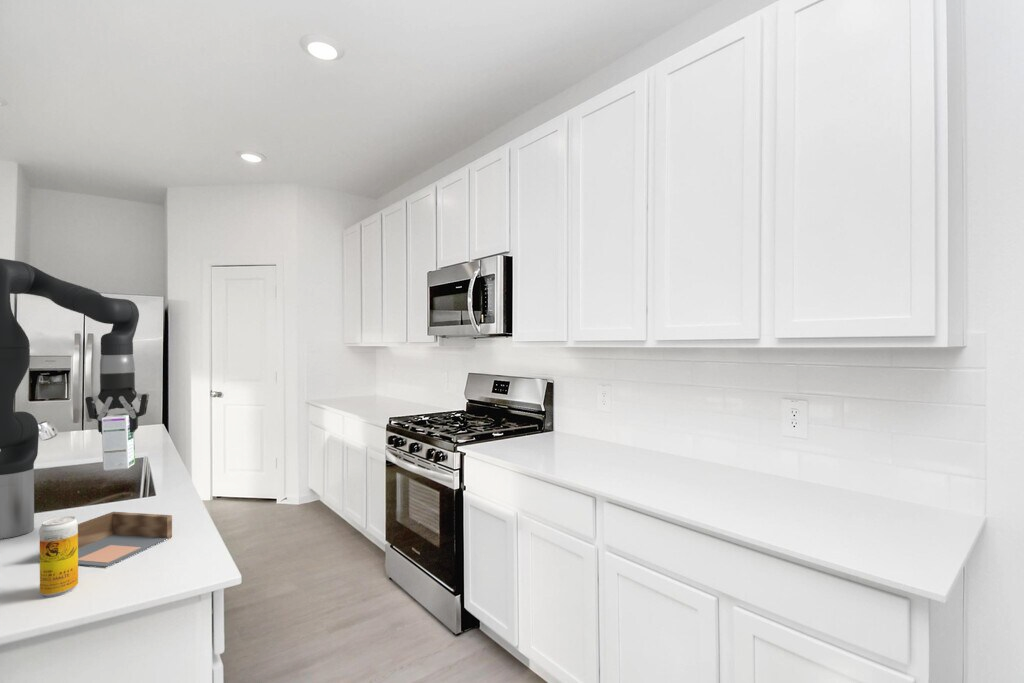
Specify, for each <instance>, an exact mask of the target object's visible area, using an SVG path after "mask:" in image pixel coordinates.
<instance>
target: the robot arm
mask: <svg viewBox="0 0 1024 683" xmlns="http://www.w3.org/2000/svg"><path fill="white" fill-rule="evenodd" d="M11 295H31V296H32V295H33V296H36V297H42V298H46V299H49V300H50V301H51V302H53V303H54V304H56V305H57V306H59V307H62V308H63V309H67V310H69V311H71V312H76V313H78V314H82V315H84V316H86V317H88V318H89V319H91V320H93V321H96V322H97V323H102V324H106V325H108V324H109V325H112V328H111V331H110V332H108V333H104V334H103V335H101V337H100V360H99V361H100V362H99V386H100V388H99V390H100V391H99V394H98V395H94V396H92V395H89V396H86V397H85V398H84V400H85V404H86V410H87V413H88V418H89V419H92V420H96V421H97V426H98V427H97V430H98V432H99V433H100V435H102V418H103V417H107V416H108V414H109V412H110V411H111V410H115V409H120V410H121V409H124V410H125V411H126V413H129V415H130V417H131V419H130V432H134V433H135V432H136V430H138V428H139V421H138V420H139V419H138V418H140V417H141V416H142V417H143V416H144V415H146V414H147V411H148V410H147V409H148V404H149V398H150V397H149V396H150V394H149V393H137V391H136V383H135V382H136V381H135V380H136V375H135V370H136V366H135V359H134V342H133V341H134V337H135V333H136V330H137V327H138V323H139V319H140V311H139V308H138V306H137V304H136V303H135V301H132V300H130V299H125V298H115V297H108V296H105V295H102V294H101V292H98V291H97V290H94V289H91V288H88V287H85V286H82V285H78V284H75V283H72V282H68V281H65V280H62V279H59V278H56V277H54V276H53V275H50V274H49V273H46V272H44V271H42V270H40V269H39V268H37V267H36V266H34V265H31V264H29V263H26V262H25V261H19V260H13V259H6V258H0V540H2V539H3V538H4V539H10V538H15V537H18V536H22V535H25V534H29V533H30V532H32V531H34V529H35V476H34V475H35V470H34V469H35V468H34V466H35V461H36V460H37V456H38V454H39V439H40V438H39V437H40V435H39V434H40V429H39V423H38V420H37V419H36V417H35V416H34V415H33V414H31V413H30V412H27V411H15V410H14V409H15V396H16V393H17V390H18V389H19V386H20V385H21V383H22V381H23V379H24V378H25V375H26V374H27V372H28V370H29V367H30V362H31V361H30V360H31V359H30V358H31V354H30V353H31V351H30V347H31V346H30V340H29V337H28V335H27V334H26V332H25V330H24V329H23V328H22V326H21V324H20V323H19V322H18V320H17V318H16V317H15V315H14V313H13V310H12V305H11ZM136 398H137V400H138V402H140V404H139V408H138V409H139V410H138V412H137V410H136V407H135V405H134V404H133V402H134V400H136ZM98 400H99V401H100V402H101V403H102V404H103V406H102V407H101V409H100V413H98V410H97V406H96V404H97V403H98ZM4 539H3V540H4Z"/></svg>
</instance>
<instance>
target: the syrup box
mask: <svg viewBox="0 0 1024 683" xmlns="http://www.w3.org/2000/svg"><path fill="white" fill-rule="evenodd" d="M130 419H131V417H130V415H129V413H128V412H126V413H115V414H109V415H107V416H106V417H103V418H102V434H101V435H102V436H101V438H102V439H101V440H102V464H103V465H102V468H103V471H107V472H108V471H118V470H119V471H120V470H129V469H130V468H131V467H132V466H134V465H135V464H136V450H135V432H130Z"/></svg>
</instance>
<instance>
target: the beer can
mask: <svg viewBox="0 0 1024 683" xmlns="http://www.w3.org/2000/svg"><path fill="white" fill-rule="evenodd" d="M78 524H79V522H78V520H77V519H76V517H75V516H72V515H65V516H58V517H54V518H53V517H52V518H50V519H47V520H44V521H43V522H41V526H40V527H39V530H38V531H39V533H38V534H39V536H38V537H39V539H38V540H39V593H40V594H41V595H43V596H44V597H48V598H49V597H50V598H51V597H58V596H62V595H65V594H68V593H70V592H72V591H73V590H74V589H75V588H76V587H77V585H78V584H79V565H78Z"/></svg>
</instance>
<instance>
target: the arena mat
mask: <svg viewBox="0 0 1024 683" xmlns="http://www.w3.org/2000/svg"><path fill="white" fill-rule="evenodd" d="M166 539H167V538H157V537H143V536H129V535H114V534H113V535H110V536H108V537H105V538H103V539H100V540H98V541H95V542H93V543H90V544H88V545H85V546H83V547H80V548H78V566H79V565H84V566H83V567H90V566H96V567H95V568H102V567H108V566H110V565H112V564H114V563H116V562H118V563H120V562H122V561H121V560H123V561H125V560H127V559H129V558H131V557H133V556H135V555H134V554H136V553H138V554H140V553H141V551H142V552H144V551H146V550H148V549H147V548H149V547H151V546H153V545H155V544H157V545H159V544H161V543H163V542H162V541H164V540H166ZM166 541H167V540H166ZM160 542H161V543H160ZM164 542H165V541H164ZM158 543H159V544H158ZM155 546H156V545H155ZM153 547H154V546H153ZM151 548H152V547H151ZM145 549H146V550H145ZM149 549H150V548H149ZM143 550H144V551H143ZM139 552H140V553H139ZM132 555H133V556H132ZM136 555H137V554H136ZM130 556H131V557H130ZM128 557H129V558H128ZM126 558H127V559H126ZM124 559H125V560H124ZM119 561H120V562H119ZM116 564H117V563H116ZM114 565H115V564H114ZM112 566H113V565H112ZM110 567H111V566H110ZM108 568H109V567H108Z"/></svg>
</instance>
